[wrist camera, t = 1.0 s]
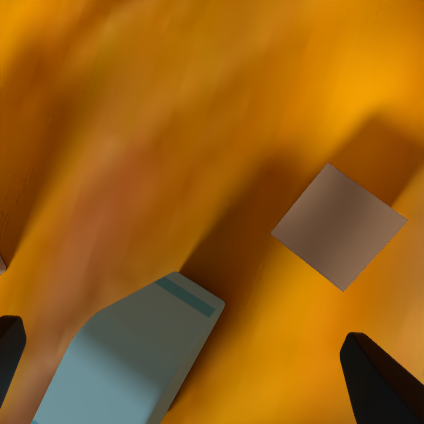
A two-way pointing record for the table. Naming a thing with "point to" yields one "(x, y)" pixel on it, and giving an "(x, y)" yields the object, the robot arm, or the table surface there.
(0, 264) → the coffee box
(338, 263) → the grey cube
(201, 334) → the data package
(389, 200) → the table surface
